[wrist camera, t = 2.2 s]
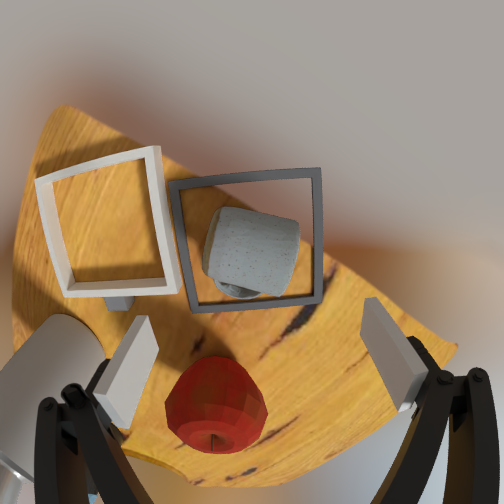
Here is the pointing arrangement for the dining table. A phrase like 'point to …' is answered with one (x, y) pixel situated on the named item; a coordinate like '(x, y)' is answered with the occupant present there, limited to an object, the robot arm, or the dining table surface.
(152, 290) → the socket
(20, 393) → the cylinder vase
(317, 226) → the tray outline
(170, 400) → the apple
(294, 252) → the ceramic mug
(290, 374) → the dining table surface
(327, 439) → the dining table surface
